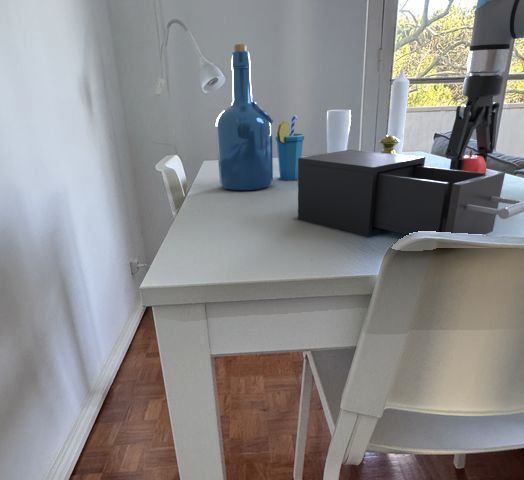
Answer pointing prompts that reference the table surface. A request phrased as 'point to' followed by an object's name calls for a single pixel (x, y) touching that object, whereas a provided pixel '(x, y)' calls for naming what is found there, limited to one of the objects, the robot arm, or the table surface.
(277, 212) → the table surface
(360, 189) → the cabinet
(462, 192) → the drawer
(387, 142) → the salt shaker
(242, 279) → the table surface
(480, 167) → the apple
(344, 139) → the drinking glass
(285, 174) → the cup
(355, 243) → the table surface
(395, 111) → the candle
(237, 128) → the wine bottle
